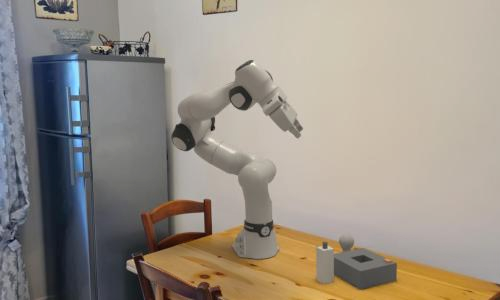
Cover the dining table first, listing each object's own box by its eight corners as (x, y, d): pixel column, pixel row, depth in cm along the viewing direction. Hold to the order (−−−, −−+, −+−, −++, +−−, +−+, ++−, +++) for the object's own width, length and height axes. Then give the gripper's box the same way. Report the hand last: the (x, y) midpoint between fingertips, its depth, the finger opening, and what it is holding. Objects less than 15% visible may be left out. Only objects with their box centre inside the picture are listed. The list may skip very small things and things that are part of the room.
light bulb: (354, 261, 183) (354, 236, 182) (338, 260, 184) (339, 236, 183) (353, 256, 189) (354, 232, 188) (339, 255, 190) (339, 231, 189)
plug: (316, 279, 167) (316, 241, 165) (326, 277, 168) (326, 239, 167) (323, 283, 163) (323, 245, 161) (333, 281, 165) (333, 243, 163)
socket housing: (329, 271, 174) (329, 253, 173) (363, 264, 180) (363, 246, 179) (360, 289, 157) (360, 269, 156) (396, 280, 164) (396, 261, 163)
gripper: (270, 102, 165) (295, 132, 166) (262, 113, 145) (290, 146, 147) (284, 91, 163) (309, 121, 164) (277, 100, 144) (306, 134, 145)
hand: (300, 133), depth 155 cm, fingers open, 8 cm apart
